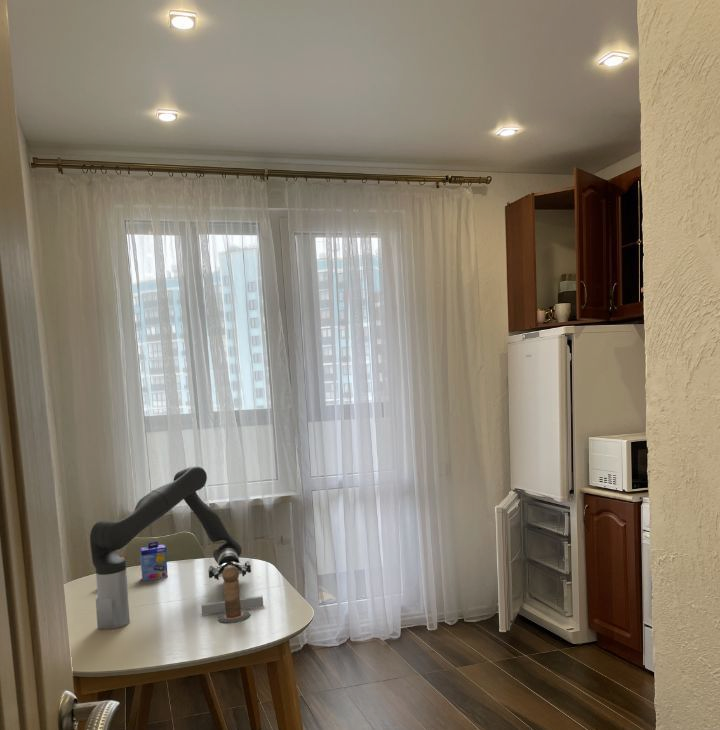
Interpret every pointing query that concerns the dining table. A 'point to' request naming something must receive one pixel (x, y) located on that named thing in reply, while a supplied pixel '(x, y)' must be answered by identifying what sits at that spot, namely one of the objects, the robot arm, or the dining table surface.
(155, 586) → the dining table surface
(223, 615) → the pad
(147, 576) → the ink cartridge box
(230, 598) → the skittle
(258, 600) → the low wall
